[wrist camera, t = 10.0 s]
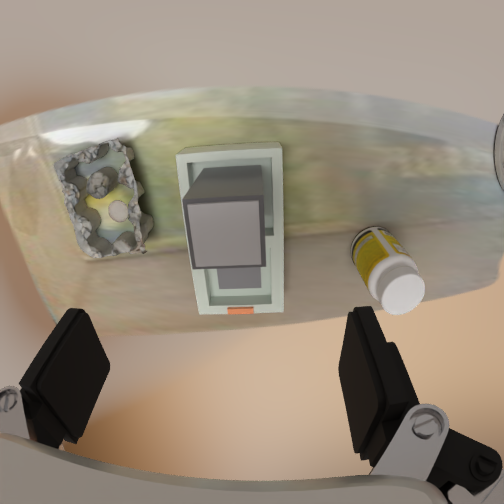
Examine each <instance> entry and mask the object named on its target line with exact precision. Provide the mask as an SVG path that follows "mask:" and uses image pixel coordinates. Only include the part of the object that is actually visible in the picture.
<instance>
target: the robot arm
mask: <svg viewBox="0 0 504 504" xmlns="http://www.w3.org/2000/svg"><path fill="white" fill-rule="evenodd" d="M495 165H496V172H497V176H498V179H499V182H500V184H501V187H502V189H503V190H504V114H503V117H502V118H501V120H500V124H499V127H498V130H497V135H496V140H495ZM109 371H110V362H109V360H108V358H107V356H106V354H105V351H104V349H103V347H102V345H101V343H100V341H99V338H98V336H97V333H96V331H95V329H94V326H93V324H92V322H91V319H90V317H89V315H88V314H87V313H86V312H85V311H84V310H83V309H77V308H69V309H68V310H67V311H66V313H65V314H64V315H63V317H62V318H61V320H60V321H59V322H58V324H57V325H56V327H55V328H54V330H53V331H52V333H51V334H50V335H49V337H48V339H47V340H46V341H45V343H44V344H43V346H42V348H41V349H40V350H39V352H38V354H37V355H36V357H35V358H34V360H33V361H32V363H31V364H30V366H29V368H28V369H27V371H26V372H25V374H24V376H23V377H22V379H21V381H20V382H19V384H20V386H21V387H22V389H21V390H19V389H18V388H17V387H14V386H7V387H4V388H3V389H1V390H0V504H504V470H503V469H502V460H501V457H500V455H499V454H498V453H497V451H495V450H494V449H492V448H490V447H488V446H486V445H484V444H482V443H479V442H477V441H475V440H473V439H471V438H469V437H467V436H464V435H462V434H460V433H458V432H456V431H454V430H452V429H450V428H449V420H448V417H447V415H446V413H445V412H444V411H443V410H442V409H440V408H439V407H437V406H435V405H431V404H420V403H419V401H418V398H417V395H416V393H415V390H414V388H413V385H412V383H411V380H410V378H409V375H408V372H407V370H406V368H405V365H404V363H403V360H402V358H401V355H400V353H399V351H398V348H397V346H396V345H395V343H394V342H386V339H385V337H384V334H383V332H382V330H381V327H380V325H379V322H378V320H377V318H376V315H375V313H374V311H373V309H372V307H371V306H365V307H355V308H354V310H353V312H349V313H348V317H347V323H346V329H345V335H344V341H343V346H342V351H341V356H340V361H339V377H340V382H341V387H342V391H343V396H344V401H345V406H346V411H347V416H348V421H349V426H350V432H351V437H352V442H353V448H354V452H355V453H360V458H361V460H367V459H369V462H370V466H372V467H373V469H372V471H371V472H370V473H369V475H356V476H345V477H332V478H322V479H307V480H282V481H239V480H218V479H205V478H194V477H184V476H176V475H168V474H161V473H155V472H149V471H143V470H137V469H133V468H127V467H123V466H118V465H114V464H109V463H105V462H101V461H97V460H93V459H90V458H86V457H82V456H78V455H75V454H72V453H69V452H66V451H64V448H63V445H62V441H63V439H64V440H65V441H67V442H71V443H74V444H77V441H78V439H79V438H80V437H82V435H83V433H84V430H85V428H86V425H87V423H88V420H89V418H90V415H91V413H92V410H93V408H94V406H95V403H96V401H97V399H98V396H99V394H100V392H101V389H102V387H103V384H104V382H105V380H106V378H107V375H108V373H109Z"/></svg>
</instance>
